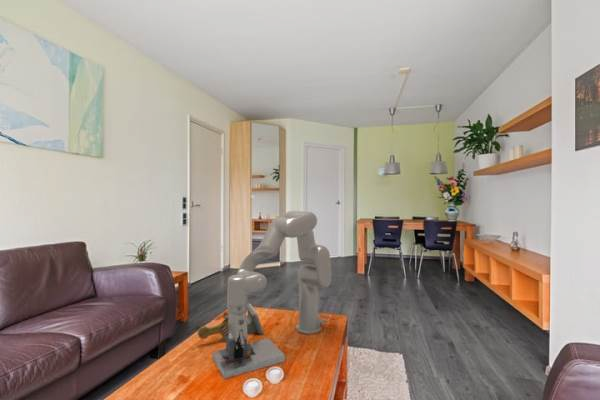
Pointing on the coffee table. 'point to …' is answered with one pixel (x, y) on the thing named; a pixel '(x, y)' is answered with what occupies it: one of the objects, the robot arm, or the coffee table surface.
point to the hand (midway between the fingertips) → (236, 354)
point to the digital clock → (253, 321)
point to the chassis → (250, 359)
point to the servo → (231, 348)
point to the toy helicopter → (216, 328)
